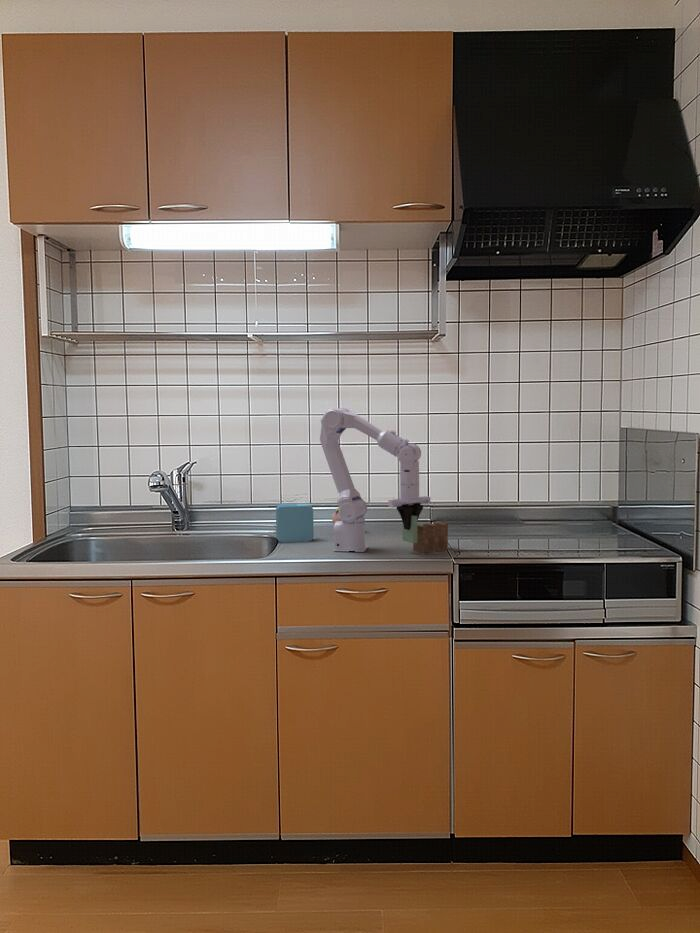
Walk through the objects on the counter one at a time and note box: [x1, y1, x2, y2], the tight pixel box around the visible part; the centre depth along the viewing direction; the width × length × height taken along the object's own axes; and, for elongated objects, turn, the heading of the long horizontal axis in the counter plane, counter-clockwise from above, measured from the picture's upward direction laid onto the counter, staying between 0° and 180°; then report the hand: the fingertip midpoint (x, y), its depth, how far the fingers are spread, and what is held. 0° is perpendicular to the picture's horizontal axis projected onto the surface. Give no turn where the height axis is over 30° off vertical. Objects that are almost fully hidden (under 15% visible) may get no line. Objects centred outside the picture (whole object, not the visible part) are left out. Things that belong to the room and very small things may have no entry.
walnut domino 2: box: [422, 522, 439, 553], centre depth 244 cm, size 2×5×8 cm, turn 34°
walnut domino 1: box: [412, 524, 429, 554], centre depth 242 cm, size 2×5×8 cm, turn 34°
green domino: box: [402, 515, 418, 544], centre depth 239 cm, size 2×5×8 cm, turn 34°
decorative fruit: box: [331, 507, 342, 525], centre depth 275 cm, size 9×8×10 cm
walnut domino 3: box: [432, 521, 449, 551], centre depth 246 cm, size 2×5×8 cm, turn 34°
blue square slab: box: [275, 503, 315, 543], centre depth 262 cm, size 12×4×12 cm, turn 99°
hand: (409, 528), depth 239 cm, fingers closed on green domino, 1 cm apart
